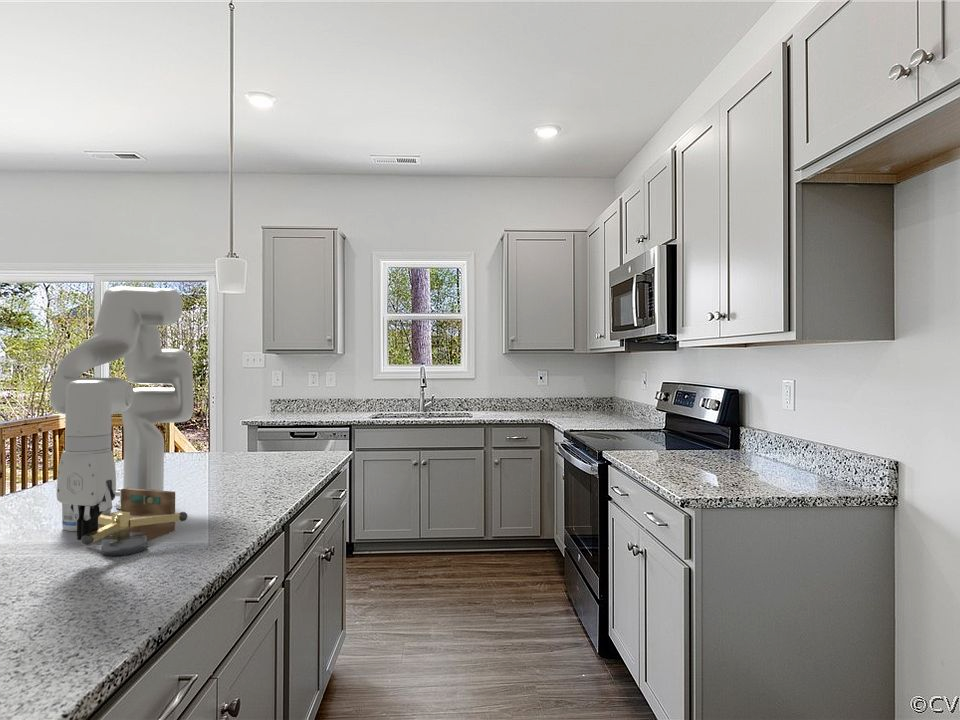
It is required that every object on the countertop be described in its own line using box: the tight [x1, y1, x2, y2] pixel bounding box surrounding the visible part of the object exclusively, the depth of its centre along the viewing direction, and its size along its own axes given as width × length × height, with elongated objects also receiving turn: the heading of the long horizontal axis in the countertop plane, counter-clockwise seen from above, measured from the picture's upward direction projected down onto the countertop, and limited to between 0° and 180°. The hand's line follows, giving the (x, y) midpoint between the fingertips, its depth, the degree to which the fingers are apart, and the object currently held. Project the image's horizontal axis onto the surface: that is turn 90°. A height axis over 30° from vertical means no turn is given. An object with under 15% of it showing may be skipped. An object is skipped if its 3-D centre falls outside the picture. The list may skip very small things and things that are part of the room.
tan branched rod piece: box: [80, 511, 188, 557], centre depth 122 cm, size 22×19×7 cm
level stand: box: [98, 487, 176, 542], centre depth 136 cm, size 14×10×9 cm
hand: (87, 538), depth 117 cm, fingers closed
